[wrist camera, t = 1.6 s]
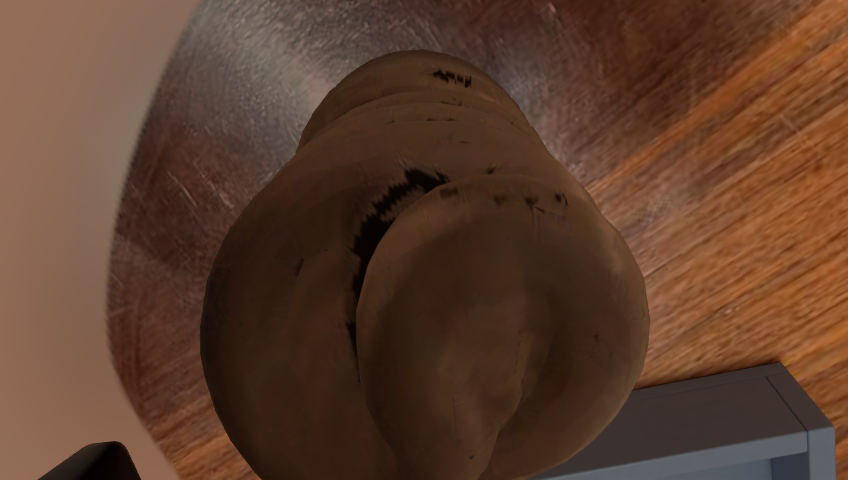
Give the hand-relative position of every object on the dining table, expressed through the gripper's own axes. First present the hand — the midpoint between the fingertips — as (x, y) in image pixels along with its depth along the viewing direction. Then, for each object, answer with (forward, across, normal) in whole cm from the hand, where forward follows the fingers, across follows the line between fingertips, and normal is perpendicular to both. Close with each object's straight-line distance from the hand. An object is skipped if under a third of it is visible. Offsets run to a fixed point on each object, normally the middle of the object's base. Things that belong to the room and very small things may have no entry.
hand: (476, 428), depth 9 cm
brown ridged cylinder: (+14, +1, 0) cm, 14 cm away
